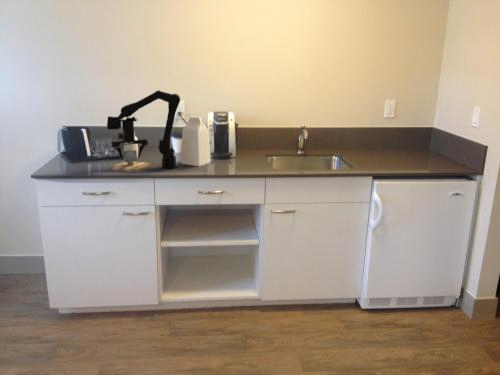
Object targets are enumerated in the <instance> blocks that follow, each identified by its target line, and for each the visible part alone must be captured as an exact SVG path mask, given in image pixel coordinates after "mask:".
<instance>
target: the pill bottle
mask: <svg viewBox="0 0 500 375" xmlns="http://www.w3.org/2000/svg"><path fill="white" fill-rule="evenodd" d="M134 139H135V140H138V139H139V138H138V137H137V136H136V132H135V131H134ZM125 143H127V142H125ZM130 143H133V142H130ZM125 150H136V152H137V158H138V144H128V145H123V151H125Z"/></svg>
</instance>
